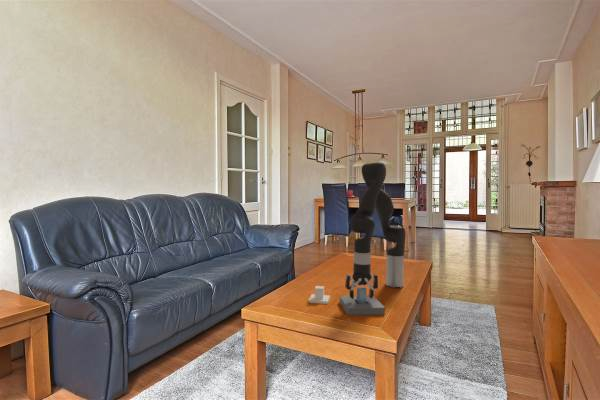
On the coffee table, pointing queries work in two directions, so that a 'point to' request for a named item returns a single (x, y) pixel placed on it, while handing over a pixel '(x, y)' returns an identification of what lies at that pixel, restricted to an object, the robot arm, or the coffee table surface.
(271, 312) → the coffee table surface
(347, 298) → the socket plate
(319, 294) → the lid
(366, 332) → the coffee table surface
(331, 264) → the coffee table surface
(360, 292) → the peg
